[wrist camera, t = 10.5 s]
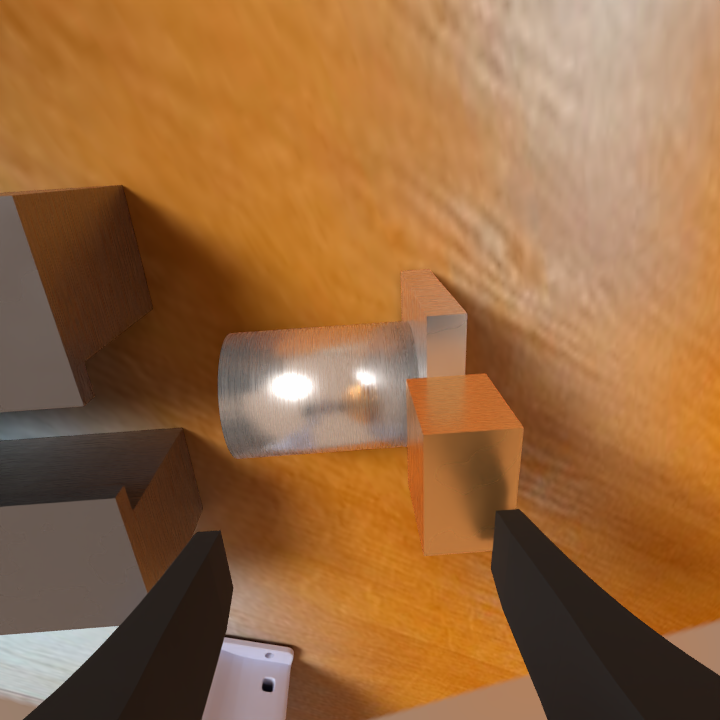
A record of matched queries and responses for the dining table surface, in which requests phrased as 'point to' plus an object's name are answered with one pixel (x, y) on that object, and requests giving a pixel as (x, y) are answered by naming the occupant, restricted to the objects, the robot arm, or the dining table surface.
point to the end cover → (384, 408)
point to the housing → (80, 452)
